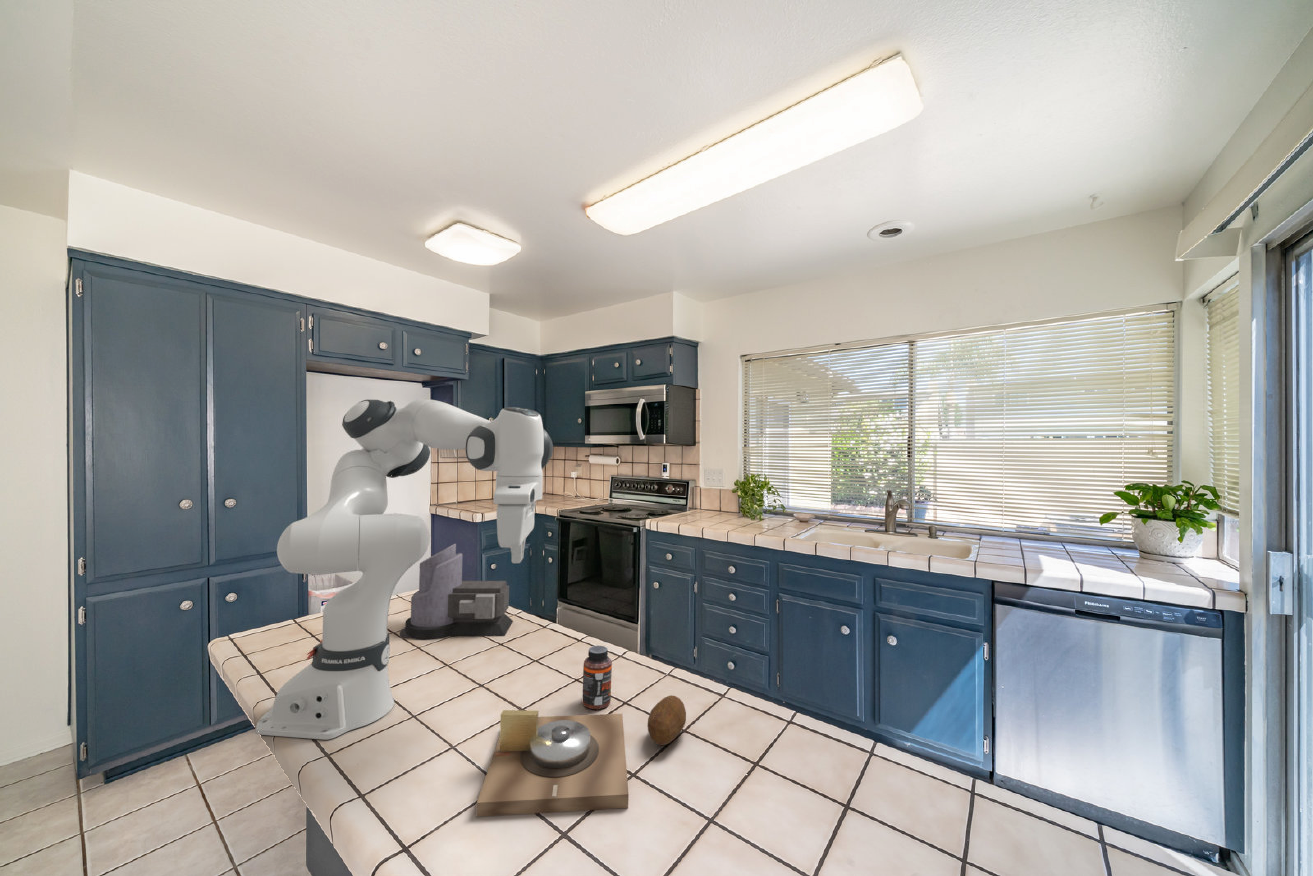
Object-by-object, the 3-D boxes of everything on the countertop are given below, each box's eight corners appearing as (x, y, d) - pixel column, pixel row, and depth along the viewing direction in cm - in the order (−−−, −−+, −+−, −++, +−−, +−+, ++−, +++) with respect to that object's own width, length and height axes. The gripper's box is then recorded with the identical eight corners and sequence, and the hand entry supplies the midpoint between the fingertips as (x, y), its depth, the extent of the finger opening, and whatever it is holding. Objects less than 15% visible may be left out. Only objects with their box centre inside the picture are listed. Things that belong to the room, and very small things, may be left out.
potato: (639, 753, 86) (640, 713, 86) (656, 718, 97) (657, 683, 98) (677, 760, 85) (678, 720, 85) (690, 724, 96) (690, 688, 96)
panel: (476, 816, 71) (476, 801, 71) (505, 728, 93) (506, 717, 93) (628, 807, 73) (628, 793, 73) (622, 724, 95) (622, 712, 95)
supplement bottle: (605, 712, 99) (607, 656, 99) (578, 709, 100) (579, 653, 100) (614, 698, 105) (615, 644, 105) (587, 694, 106) (589, 642, 106)
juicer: (389, 640, 132) (392, 550, 132) (414, 619, 148) (416, 538, 148) (502, 639, 135) (505, 550, 135) (514, 618, 151) (517, 539, 151)
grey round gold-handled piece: (592, 731, 88) (593, 698, 88) (586, 768, 78) (587, 730, 78) (509, 731, 88) (510, 697, 88) (491, 767, 78) (492, 729, 78)
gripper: (512, 485, 105) (510, 550, 105) (491, 495, 85) (489, 575, 85) (542, 486, 106) (540, 550, 106) (528, 496, 86) (526, 575, 86)
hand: (517, 561), depth 95 cm, fingers closed
